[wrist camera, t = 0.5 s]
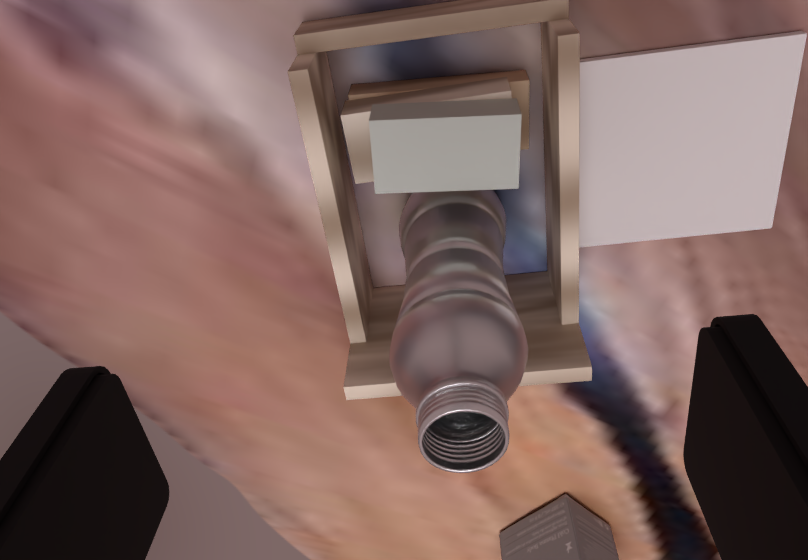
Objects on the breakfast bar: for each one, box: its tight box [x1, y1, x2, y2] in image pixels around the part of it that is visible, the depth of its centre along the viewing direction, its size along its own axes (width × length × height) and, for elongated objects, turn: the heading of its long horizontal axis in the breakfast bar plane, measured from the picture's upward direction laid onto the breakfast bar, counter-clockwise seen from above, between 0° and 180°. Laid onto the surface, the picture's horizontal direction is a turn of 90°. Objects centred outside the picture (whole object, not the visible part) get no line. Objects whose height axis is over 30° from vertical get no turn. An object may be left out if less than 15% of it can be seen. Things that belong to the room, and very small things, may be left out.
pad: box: [579, 31, 807, 247], centre depth 40 cm, size 12×12×1 cm
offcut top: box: [369, 98, 522, 194], centre depth 35 cm, size 4×8×2 cm, turn 93°
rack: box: [288, 0, 592, 400], centre depth 38 cm, size 19×14×10 cm
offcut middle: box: [341, 77, 512, 184], centre depth 37 cm, size 4×9×2 cm, turn 99°
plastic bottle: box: [389, 190, 528, 473], centre depth 35 cm, size 6×7×20 cm
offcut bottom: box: [348, 70, 529, 150], centre depth 39 cm, size 4×10×2 cm, turn 95°
